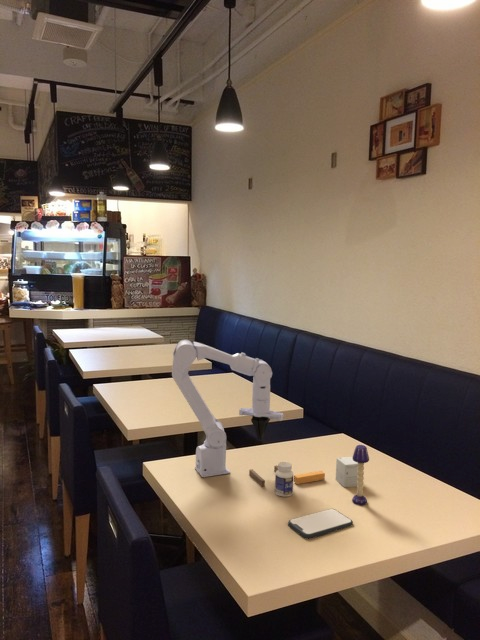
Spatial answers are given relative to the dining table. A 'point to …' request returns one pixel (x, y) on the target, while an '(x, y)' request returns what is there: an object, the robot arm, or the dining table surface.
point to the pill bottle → (284, 479)
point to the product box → (346, 471)
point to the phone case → (319, 523)
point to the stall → (257, 477)
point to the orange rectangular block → (309, 477)
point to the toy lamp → (360, 473)
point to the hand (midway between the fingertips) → (260, 438)
